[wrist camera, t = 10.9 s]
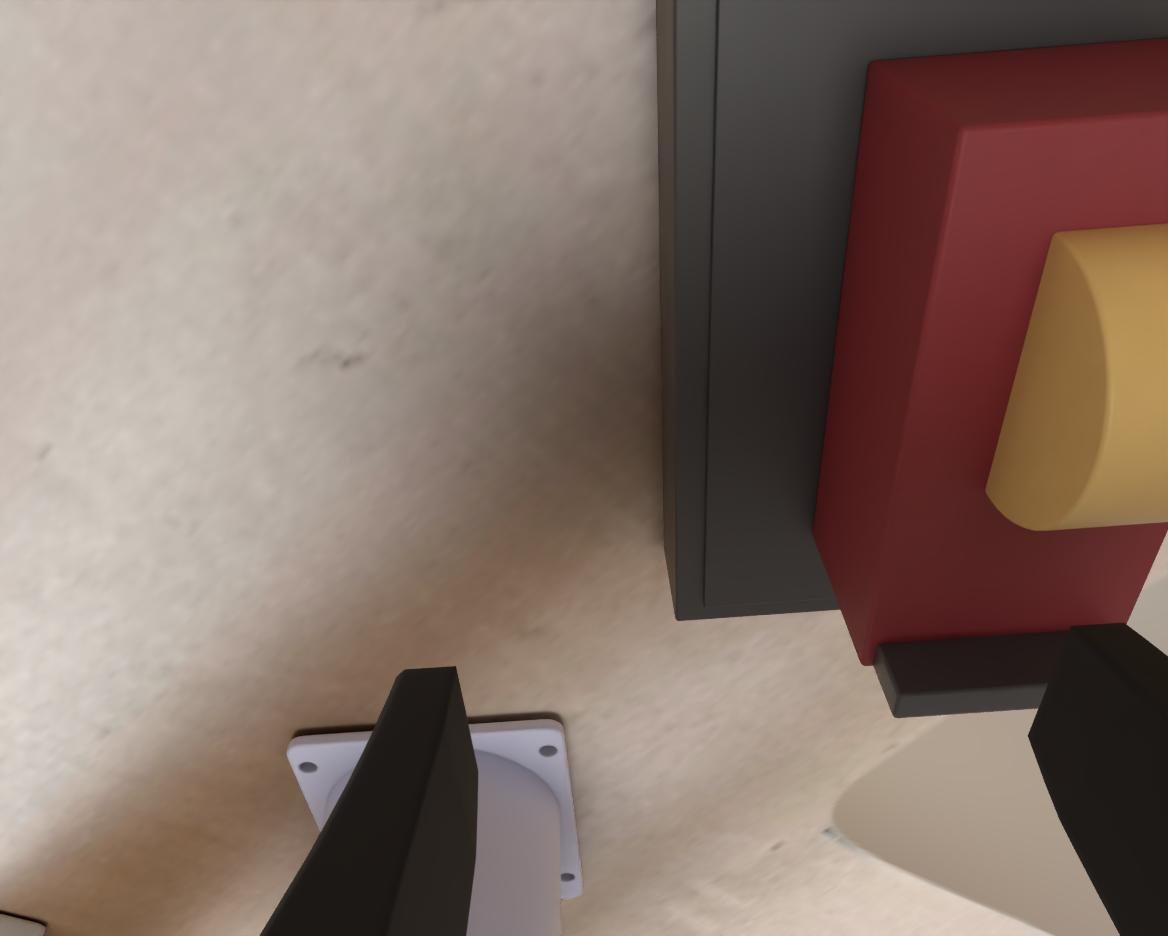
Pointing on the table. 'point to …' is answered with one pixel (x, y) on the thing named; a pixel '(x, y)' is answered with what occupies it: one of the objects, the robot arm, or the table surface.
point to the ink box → (19, 927)
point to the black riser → (782, 257)
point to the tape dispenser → (999, 367)
